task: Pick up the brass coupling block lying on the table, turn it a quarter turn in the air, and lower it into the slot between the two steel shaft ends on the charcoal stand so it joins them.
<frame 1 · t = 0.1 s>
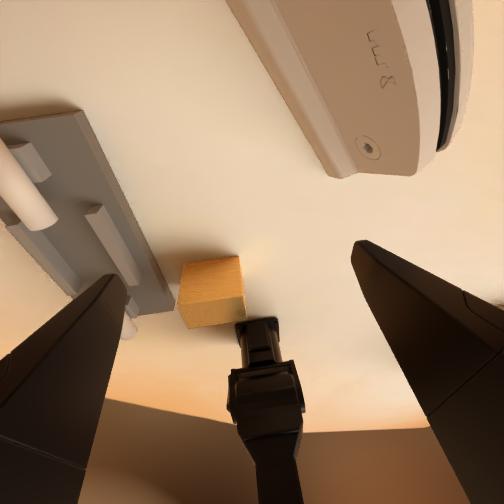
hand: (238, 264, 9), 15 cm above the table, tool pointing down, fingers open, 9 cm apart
shaft stand: (93, 239, 25), on the table
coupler: (214, 271, 30), on the table
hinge: (327, 59, 18), on the table
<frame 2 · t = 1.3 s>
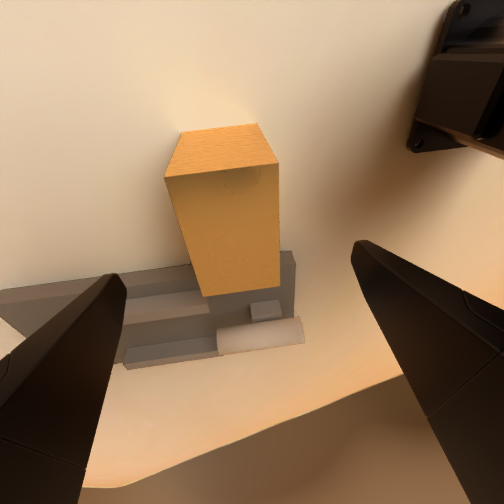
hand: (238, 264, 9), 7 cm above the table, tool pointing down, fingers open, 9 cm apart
shaft stand: (168, 310, 22), on the table
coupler: (228, 183, 15), on the table
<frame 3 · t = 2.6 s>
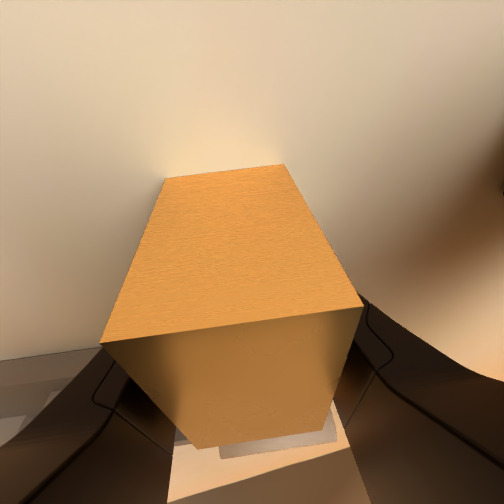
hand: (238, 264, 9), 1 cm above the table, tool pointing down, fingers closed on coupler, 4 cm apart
shaft stand: (156, 380, 17), on the table
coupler: (236, 245, 10), on the table, touching gripper
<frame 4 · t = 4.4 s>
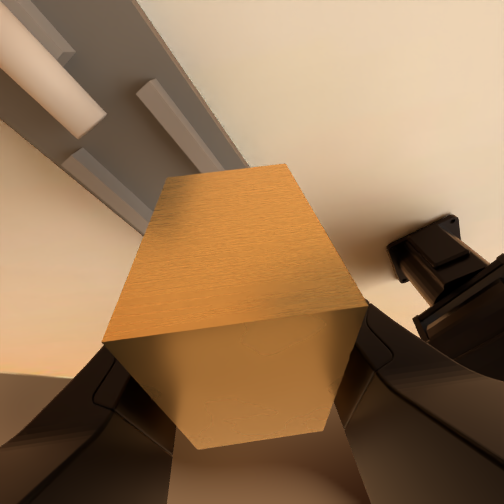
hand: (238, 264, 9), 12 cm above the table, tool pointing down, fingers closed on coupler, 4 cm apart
shaft stand: (169, 169, 18), on the table
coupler: (237, 244, 10), point 10 cm above the table, touching gripper
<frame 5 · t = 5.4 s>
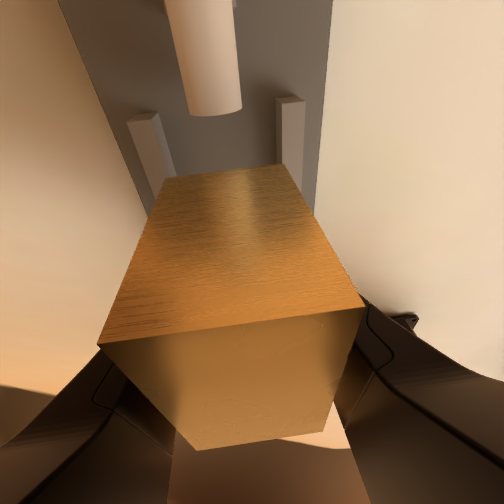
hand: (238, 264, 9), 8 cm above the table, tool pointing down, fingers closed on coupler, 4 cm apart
shaft stand: (229, 180, 15), on the table
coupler: (236, 245, 10), point 6 cm above the table, touching gripper
when the fingers open (5 cm above the table, at t = 6.2 s): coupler drops 2 cm, resting on shaft stand.
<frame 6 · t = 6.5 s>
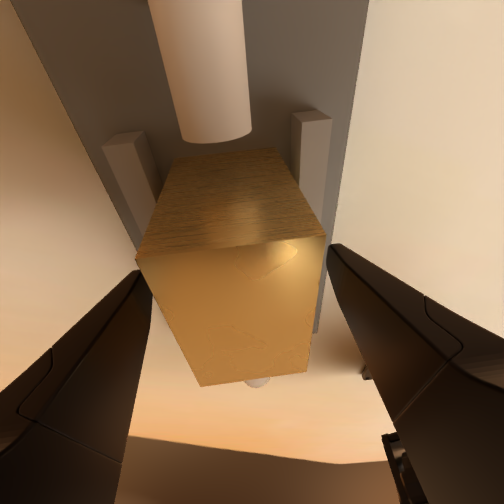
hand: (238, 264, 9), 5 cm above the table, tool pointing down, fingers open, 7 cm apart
shaft stand: (232, 205, 13), on the table
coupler: (235, 221, 12), point 1 cm above the table, touching shaft stand
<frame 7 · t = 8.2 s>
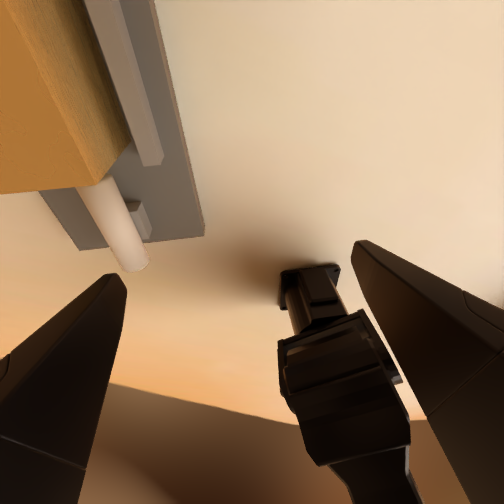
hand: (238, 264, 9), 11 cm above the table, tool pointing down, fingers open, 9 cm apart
shaft stand: (79, 76, 14), on the table
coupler: (69, 79, 13), point 1 cm above the table, touching shaft stand
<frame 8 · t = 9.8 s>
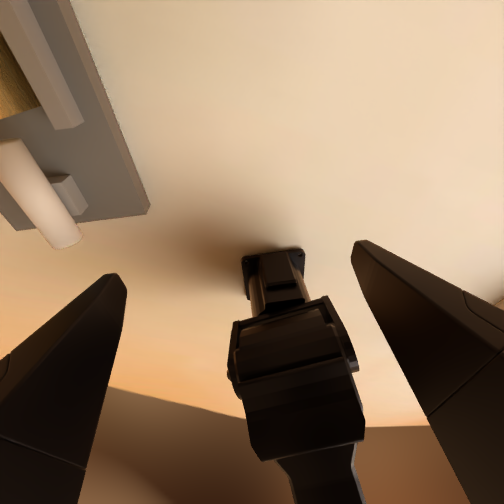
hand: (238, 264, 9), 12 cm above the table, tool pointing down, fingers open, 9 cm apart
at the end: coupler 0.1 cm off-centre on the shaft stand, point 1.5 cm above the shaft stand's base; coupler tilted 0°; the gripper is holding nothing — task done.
